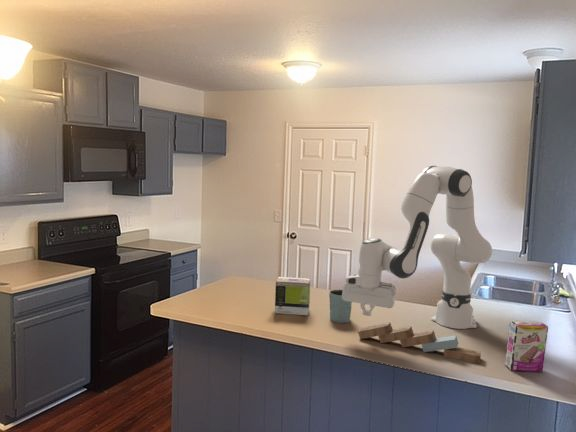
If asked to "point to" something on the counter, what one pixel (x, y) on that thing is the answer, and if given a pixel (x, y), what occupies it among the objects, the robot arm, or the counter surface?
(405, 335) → the domino
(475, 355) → the brown wooden block
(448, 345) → the light blue domino
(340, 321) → the teal cup
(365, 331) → the domino
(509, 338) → the candy bar box
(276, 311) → the tea box
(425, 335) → the domino
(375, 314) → the counter surface
